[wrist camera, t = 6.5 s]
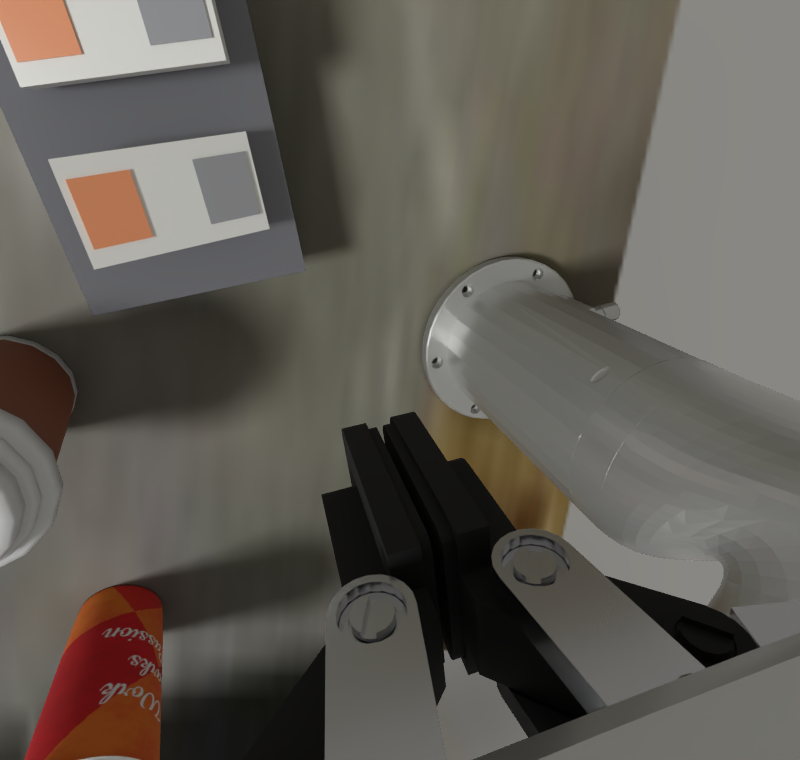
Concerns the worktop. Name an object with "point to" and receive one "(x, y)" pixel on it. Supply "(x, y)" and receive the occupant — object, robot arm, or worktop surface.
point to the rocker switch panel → (152, 124)
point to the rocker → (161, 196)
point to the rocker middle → (108, 39)
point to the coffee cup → (30, 441)
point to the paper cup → (107, 682)
